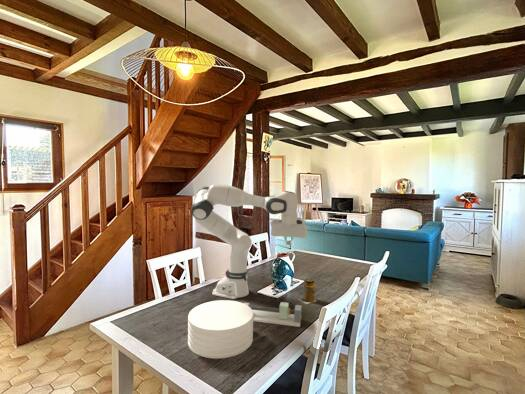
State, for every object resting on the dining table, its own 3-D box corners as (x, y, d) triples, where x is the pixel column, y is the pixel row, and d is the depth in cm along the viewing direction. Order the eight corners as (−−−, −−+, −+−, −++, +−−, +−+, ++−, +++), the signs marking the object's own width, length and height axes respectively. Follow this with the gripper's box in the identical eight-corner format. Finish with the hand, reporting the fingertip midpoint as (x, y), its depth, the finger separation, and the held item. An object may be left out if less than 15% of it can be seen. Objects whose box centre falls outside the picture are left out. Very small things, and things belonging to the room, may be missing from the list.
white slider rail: (239, 319, 141) (239, 305, 141) (245, 310, 151) (245, 297, 151) (299, 326, 135) (300, 312, 135) (301, 317, 145) (301, 303, 145)
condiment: (317, 301, 165) (317, 281, 165) (306, 304, 161) (307, 283, 160) (308, 296, 171) (309, 277, 171) (298, 299, 167) (298, 279, 166)
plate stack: (217, 368, 104) (217, 338, 104) (174, 340, 122) (174, 314, 122) (265, 337, 126) (266, 312, 125) (223, 317, 144) (223, 295, 143)
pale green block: (279, 318, 140) (279, 305, 140) (280, 314, 144) (280, 302, 144) (287, 319, 139) (287, 306, 139) (288, 315, 144) (288, 302, 143)
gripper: (269, 220, 157) (269, 244, 158) (307, 221, 153) (306, 246, 154) (271, 218, 163) (271, 242, 164) (307, 220, 159) (307, 244, 160)
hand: (288, 244), depth 159 cm, fingers closed
